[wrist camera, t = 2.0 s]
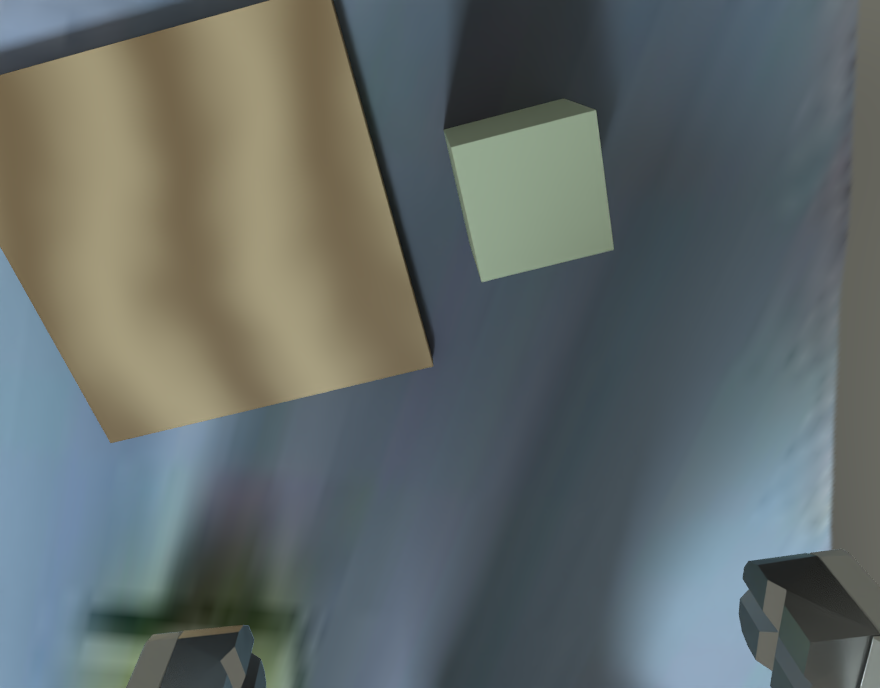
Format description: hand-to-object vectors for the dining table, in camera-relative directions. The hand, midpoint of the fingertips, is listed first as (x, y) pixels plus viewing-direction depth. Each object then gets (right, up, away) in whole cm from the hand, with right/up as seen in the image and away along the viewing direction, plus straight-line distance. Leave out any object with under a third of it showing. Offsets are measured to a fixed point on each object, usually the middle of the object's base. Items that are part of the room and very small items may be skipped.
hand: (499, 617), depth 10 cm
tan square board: (-11, +9, +17) cm, 22 cm away
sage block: (+2, +12, +17) cm, 20 cm away
